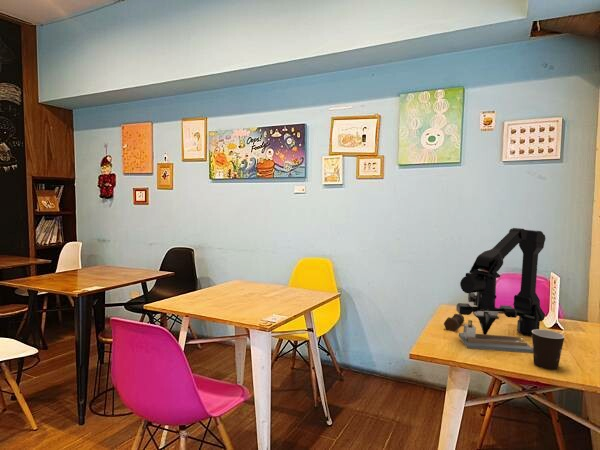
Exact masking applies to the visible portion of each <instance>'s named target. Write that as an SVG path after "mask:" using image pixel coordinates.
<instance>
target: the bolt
mask: <svg viewBox="0 0 600 450" xmlns="http://www.w3.org/2000/svg"><path fill="white" fill-rule="evenodd" d="M464 322H465V316H464V315H461V314H459V313H455V314H453V315H452V317H447V318H446V319H445V321H444V323H443V326H444V328H445V329H446V331H448V332H457V330H458V329H459V328H460V326H461V325H462V324H464Z"/></svg>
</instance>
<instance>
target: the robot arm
mask: <svg viewBox="0 0 600 450" xmlns="http://www.w3.org/2000/svg"><path fill="white" fill-rule="evenodd" d="M545 242H546V235H545V234H544V232H542V231H541V230H534V229H532V230H531V229H524V228H518V227H513V228H510V229H509V230H508V233H507V234H506V235H505V236H504V237H502V238H501V239H500V241H498V243H497V244H495V246H493V247H492V248H490V249H489V250H485V251H483V252H481V253H480V254H479V255H477V256H476V259H475V260H474V262H473V265H472V266H471V268H470V270H469V272H466V273H465V276H464V277H462V278H461V279H460V283H459V286H460V288H461V290H462V291H463V292H464V293H465V294H467V297H468V298H467V299H468V301H467V302H468V303H466V302H465V303H464V302H462V303H461V302H458V303H456V308H455V310H456V311H457V314H461V315H463V316H470V315H472V314H473V315H474V316H475V318H477V319H478V321H479V324H480V327H481V331H482V334H487V335H488V332H489V330H490V329H491V327H492V325H493V324H494V322H495V321H496V320H499V316H498V315H500V314H502V315H505V316H506V317H507V318H514V319H515V318H517V317H518V320H517V322H516V323H517V326H516V327H517V328H516V331H517V332H518V333H520V334H521V336H525V337H526V336H527V337H528V336H530V337H532V330H536V329H540V326H541V325H540V322H543V321H544V320H545V317H546V313H545V312H544V311H543V309H542V307H541V301H540V298H539V296H538V294H537V293H536V292H537V291H536V289H537V273H538V264H539V263H538V261H539V254H540V253H541V252H542V250H543V249H544V246H545ZM517 245H518V247H519V248H520V250H521V252H522V266H521V279H520V280H521V281H520V290H519V292H518V293H516V294H515V295H514V296H513V304H512V305H513V306H511V305H503V304H502V305H499V307H496V299H497V293H496V292H497V291H496V290H497V288H496V287H497V279H498V278H501V275H500V274H499V273H498V272H499V270H500V269H501V268H502V266H503V265H504V259H505V258H506V257H507V256H508V255H509V254H510V252H512V251H513V250H514V249H515V248H516V247H517ZM482 270H483V271H482ZM487 271H488V272H487ZM475 293H476V295H475ZM469 303H473V306H472V305H470V304H469ZM480 309H482V310H480ZM484 313H485V315H486V317H485V316H484Z"/></svg>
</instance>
